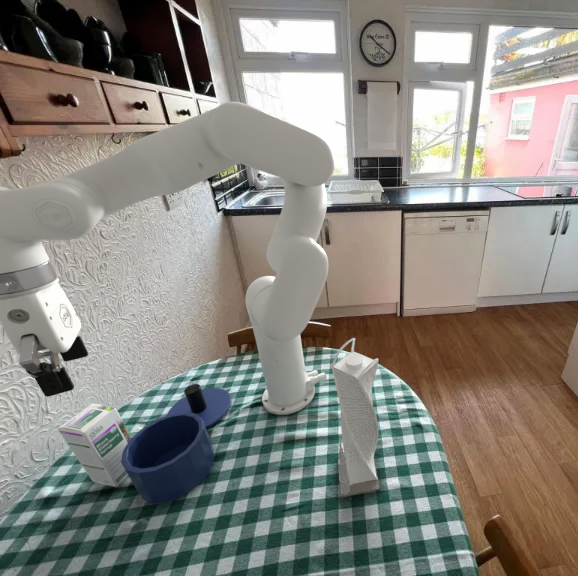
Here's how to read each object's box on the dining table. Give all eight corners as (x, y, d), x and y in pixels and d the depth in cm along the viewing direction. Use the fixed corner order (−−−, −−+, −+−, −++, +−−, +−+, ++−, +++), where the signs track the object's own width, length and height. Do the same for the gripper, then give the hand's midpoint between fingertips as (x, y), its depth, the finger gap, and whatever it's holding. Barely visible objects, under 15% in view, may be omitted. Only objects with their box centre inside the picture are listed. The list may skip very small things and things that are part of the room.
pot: (211, 432, 68) (201, 403, 65) (217, 480, 59) (205, 449, 55) (141, 460, 62) (126, 430, 59) (135, 518, 53) (116, 487, 49)
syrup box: (116, 488, 57) (83, 432, 51) (91, 482, 59) (55, 427, 52) (144, 460, 63) (116, 406, 56) (120, 455, 64) (90, 401, 57)
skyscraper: (338, 455, 63) (324, 339, 51) (377, 448, 64) (373, 333, 52) (340, 497, 55) (326, 373, 43) (385, 488, 57) (383, 365, 45)
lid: (228, 384, 82) (221, 362, 79) (235, 419, 72) (228, 395, 68) (167, 405, 76) (157, 382, 73) (166, 447, 65) (154, 422, 62)
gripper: (32, 294, 39) (87, 398, 46) (70, 256, 53) (107, 341, 60) (-58, 309, 36) (16, 419, 43) (6, 264, 49) (54, 354, 56)
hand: (69, 374), depth 51 cm, fingers open, 9 cm apart
